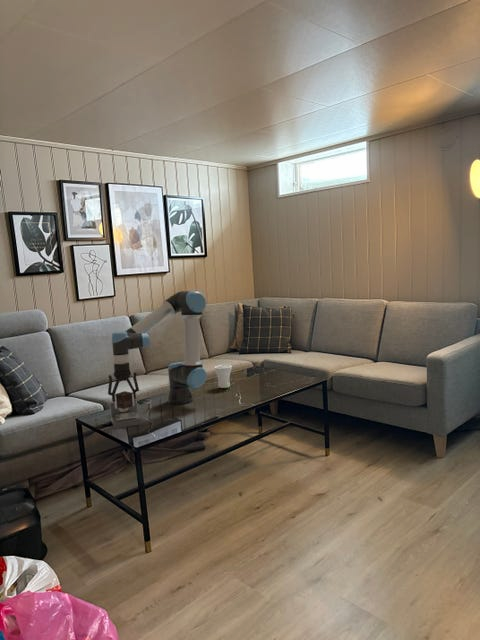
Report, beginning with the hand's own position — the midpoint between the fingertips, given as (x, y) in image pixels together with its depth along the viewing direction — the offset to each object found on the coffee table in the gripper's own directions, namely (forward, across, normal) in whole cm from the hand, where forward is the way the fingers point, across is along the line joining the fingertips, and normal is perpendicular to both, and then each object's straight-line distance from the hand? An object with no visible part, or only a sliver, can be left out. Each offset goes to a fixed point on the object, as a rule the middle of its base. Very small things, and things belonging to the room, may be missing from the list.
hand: (124, 406), depth 241 cm
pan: (+5, 0, 0) cm, 5 cm away
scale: (+9, 0, -2) cm, 9 cm away
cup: (+8, -69, -42) cm, 81 cm away
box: (+1, 0, 0) cm, 1 cm away
